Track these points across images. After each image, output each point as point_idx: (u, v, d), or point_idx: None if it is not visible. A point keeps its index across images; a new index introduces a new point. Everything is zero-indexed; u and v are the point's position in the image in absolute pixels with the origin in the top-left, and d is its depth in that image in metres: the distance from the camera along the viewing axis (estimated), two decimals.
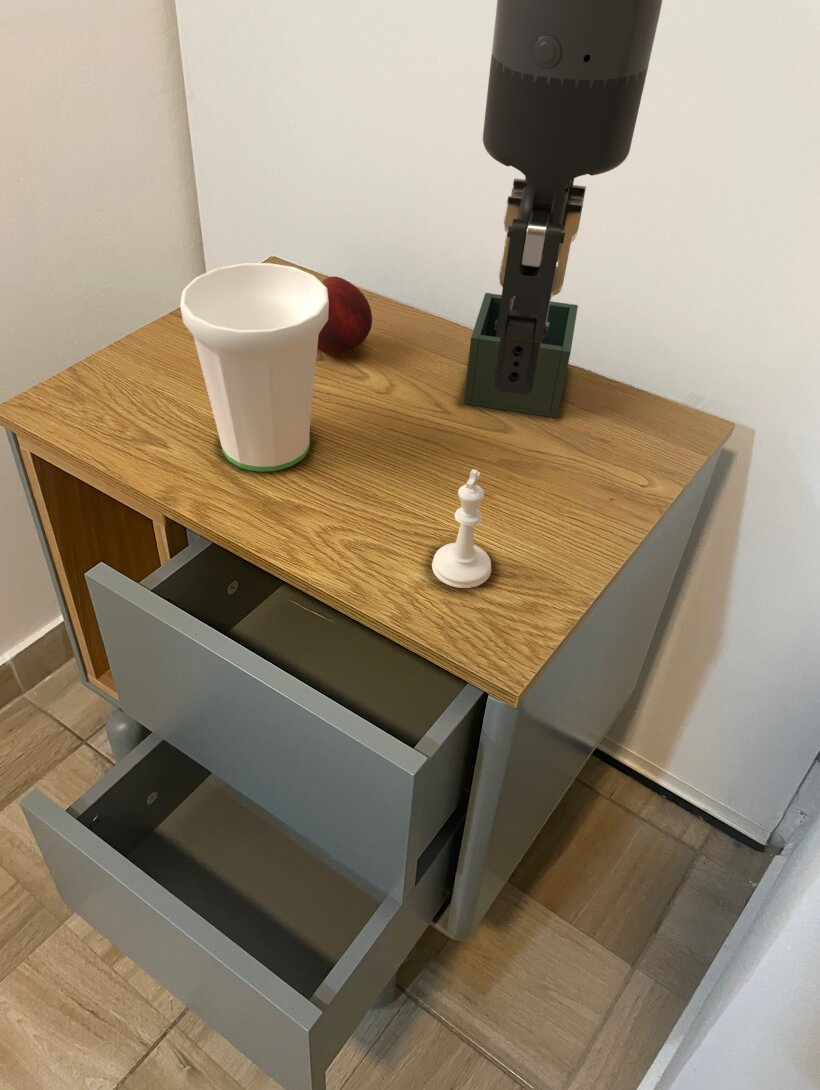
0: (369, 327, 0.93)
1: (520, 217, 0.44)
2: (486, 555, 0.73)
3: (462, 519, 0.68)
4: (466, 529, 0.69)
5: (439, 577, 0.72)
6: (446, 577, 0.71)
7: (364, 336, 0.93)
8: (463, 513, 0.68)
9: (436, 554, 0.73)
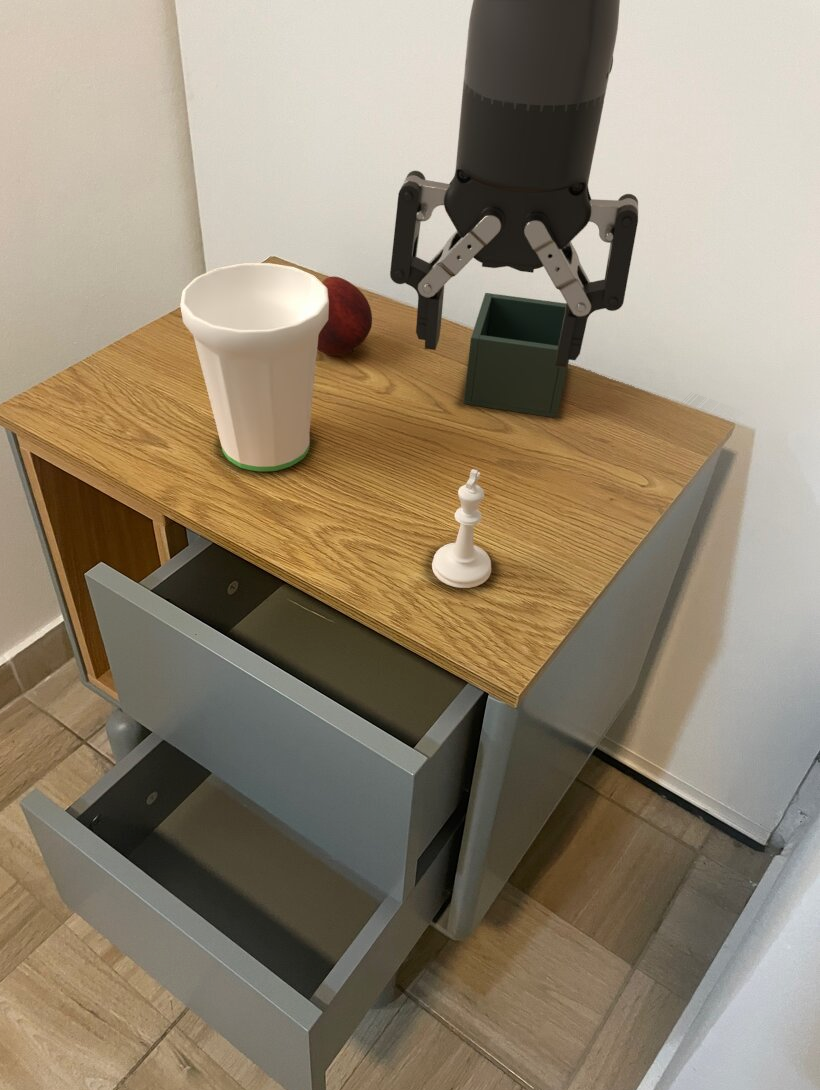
0: (369, 327, 0.93)
1: None
2: (486, 555, 0.73)
3: (462, 519, 0.68)
4: (466, 529, 0.69)
5: (439, 577, 0.72)
6: (446, 577, 0.71)
7: (364, 336, 0.93)
8: (463, 513, 0.68)
9: (436, 554, 0.73)
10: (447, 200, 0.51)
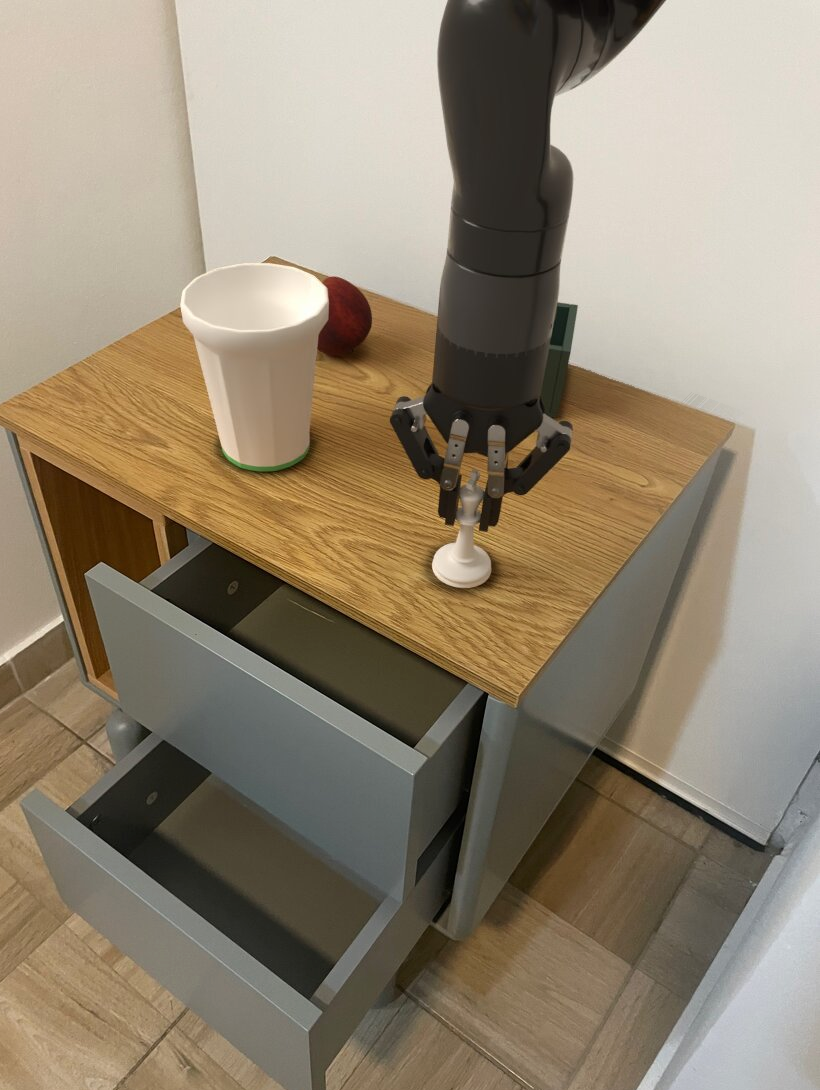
0: (369, 327, 0.93)
1: None
2: (486, 555, 0.73)
3: (462, 519, 0.68)
4: (466, 529, 0.69)
5: (439, 577, 0.72)
6: (446, 577, 0.71)
7: (364, 336, 0.93)
8: (463, 513, 0.68)
9: (436, 554, 0.73)
10: (425, 403, 0.62)
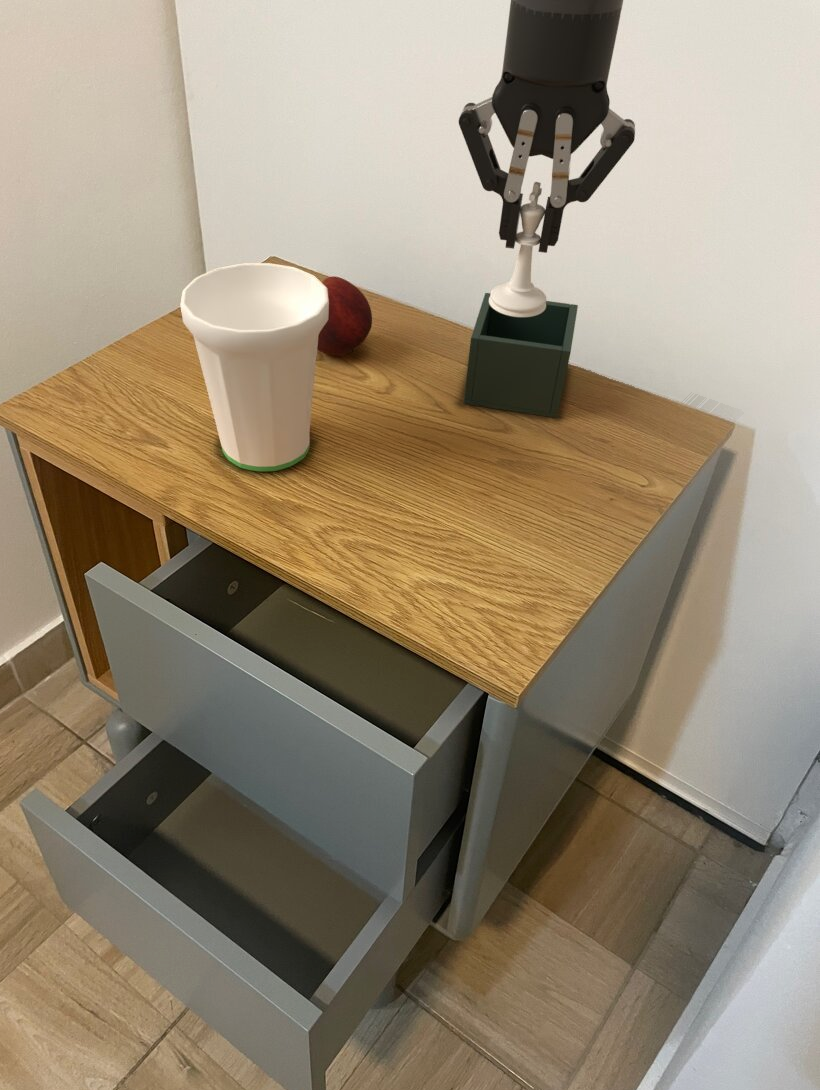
0: (369, 327, 0.93)
1: None
2: (541, 291, 0.75)
3: (523, 239, 0.71)
4: (525, 253, 0.72)
5: (497, 308, 0.74)
6: (505, 306, 0.74)
7: (364, 336, 0.93)
8: (524, 234, 0.71)
9: (493, 290, 0.75)
10: (494, 99, 0.64)
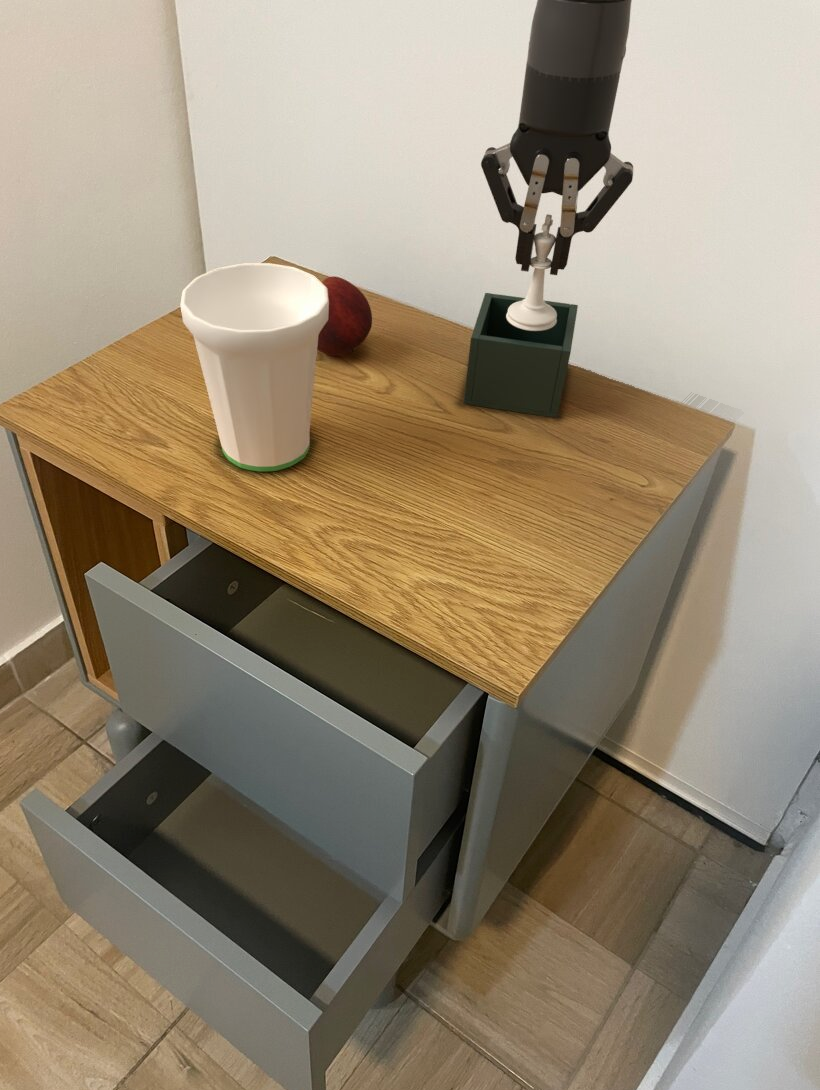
0: (369, 327, 0.93)
1: None
2: (552, 308, 0.86)
3: (536, 264, 0.81)
4: (538, 275, 0.82)
5: (513, 323, 0.85)
6: (520, 321, 0.84)
7: (364, 336, 0.93)
8: (537, 259, 0.81)
9: (510, 307, 0.86)
10: (512, 145, 0.75)
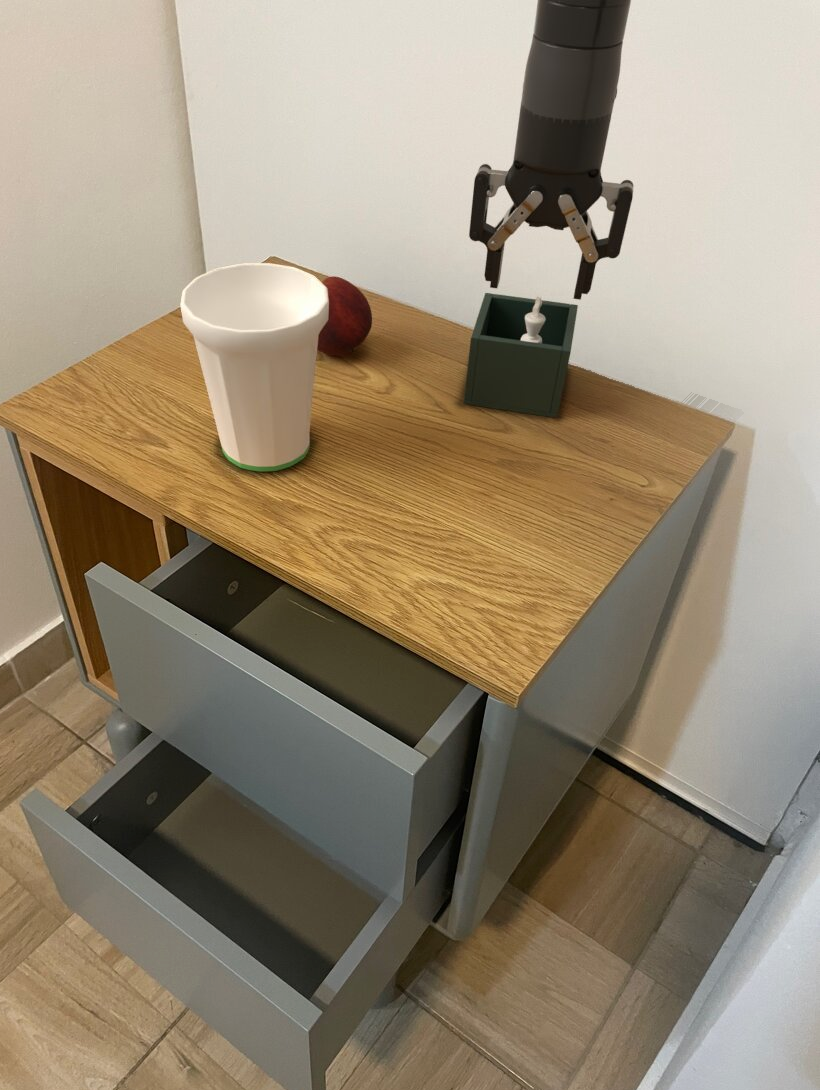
0: (369, 327, 0.93)
1: None
2: None
3: (527, 341, 0.87)
4: None
5: None
6: None
7: (364, 336, 0.93)
8: (528, 337, 0.87)
9: None
10: (507, 181, 0.77)
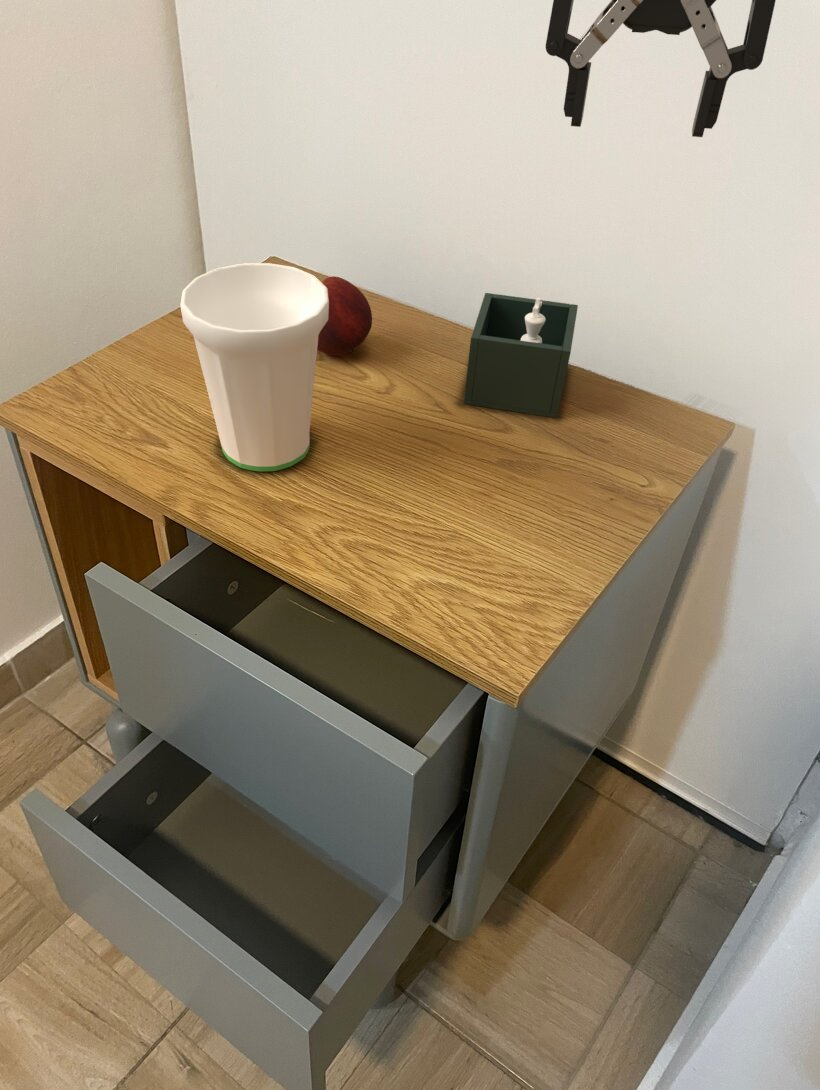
0: (369, 327, 0.93)
1: None
2: None
3: (527, 341, 0.87)
4: None
5: None
6: None
7: (364, 336, 0.93)
8: (528, 337, 0.87)
9: None
10: None
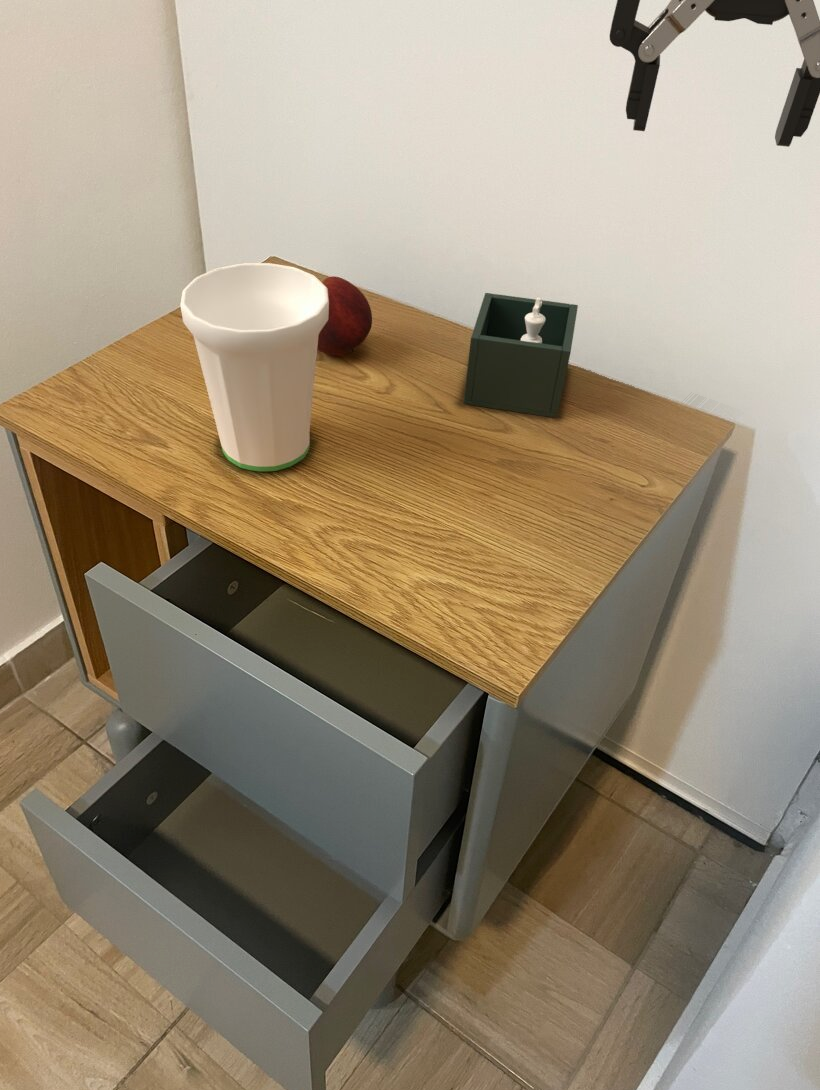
0: (369, 327, 0.93)
1: None
2: None
3: (527, 341, 0.87)
4: None
5: None
6: None
7: (364, 336, 0.93)
8: (528, 337, 0.87)
9: None
10: None
